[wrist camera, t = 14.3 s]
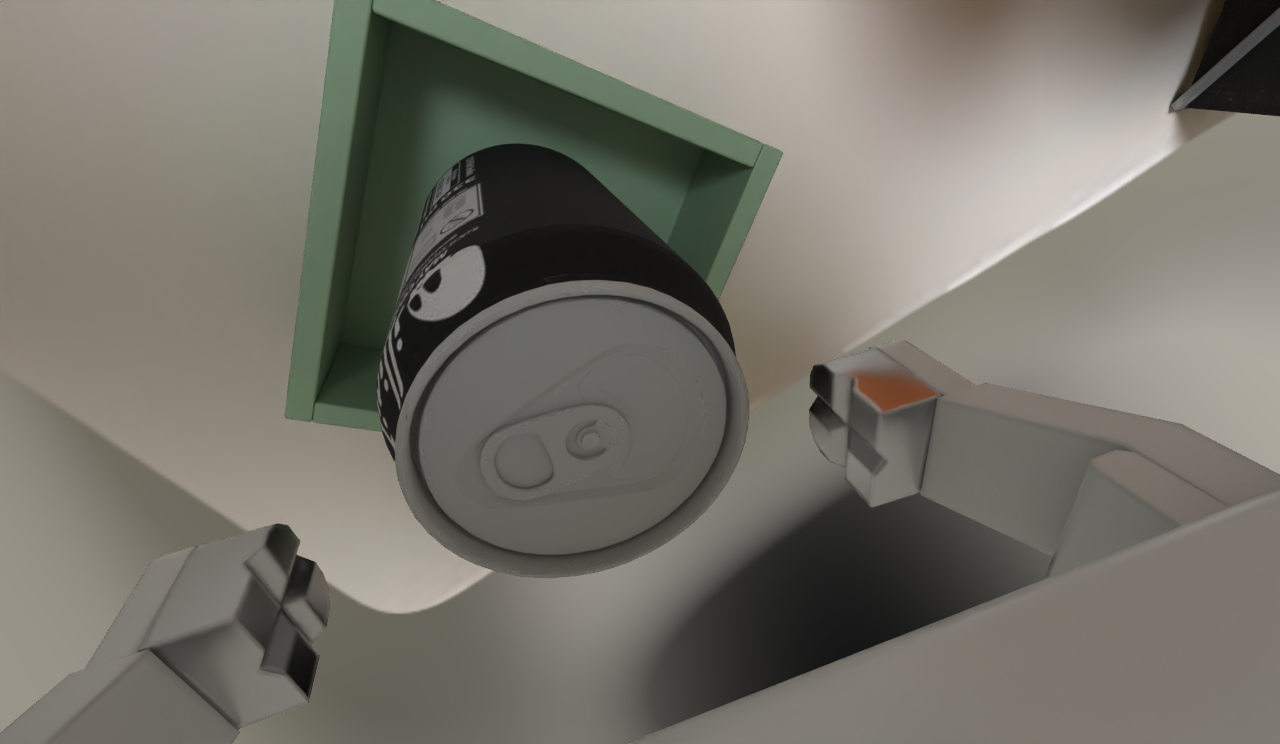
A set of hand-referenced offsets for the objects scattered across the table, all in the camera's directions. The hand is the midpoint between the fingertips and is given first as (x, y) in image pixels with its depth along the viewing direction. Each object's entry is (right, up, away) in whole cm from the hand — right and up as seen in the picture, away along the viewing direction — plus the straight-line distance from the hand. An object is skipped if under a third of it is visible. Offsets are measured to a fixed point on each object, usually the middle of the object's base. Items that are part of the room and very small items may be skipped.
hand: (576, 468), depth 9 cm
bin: (-3, +6, +11) cm, 13 cm away
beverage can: (-3, +6, +11) cm, 13 cm away
